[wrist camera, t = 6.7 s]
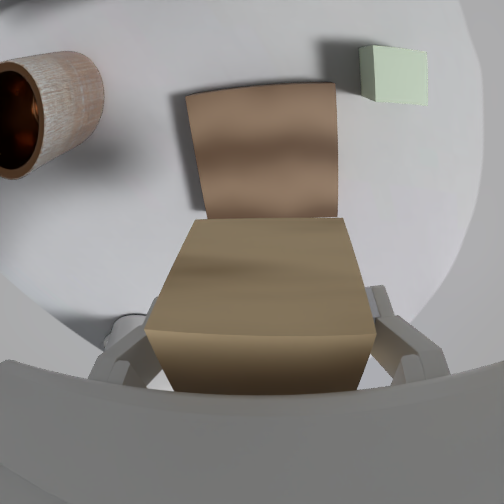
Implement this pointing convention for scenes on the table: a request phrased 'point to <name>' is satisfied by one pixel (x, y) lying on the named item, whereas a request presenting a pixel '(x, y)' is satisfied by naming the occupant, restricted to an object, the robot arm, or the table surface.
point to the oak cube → (263, 309)
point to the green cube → (394, 75)
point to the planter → (46, 108)
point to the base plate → (267, 150)
